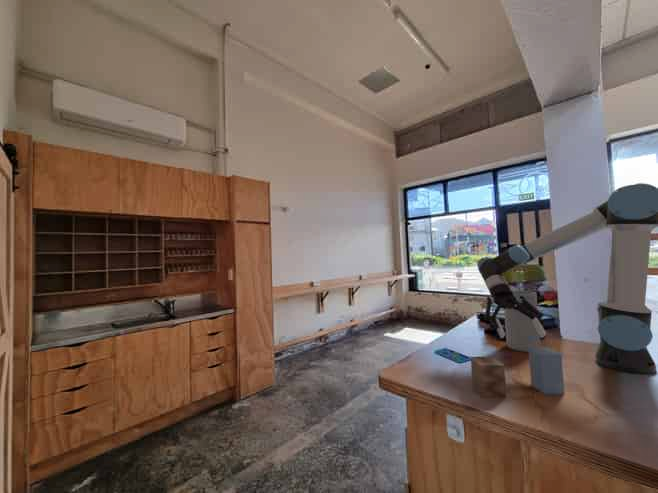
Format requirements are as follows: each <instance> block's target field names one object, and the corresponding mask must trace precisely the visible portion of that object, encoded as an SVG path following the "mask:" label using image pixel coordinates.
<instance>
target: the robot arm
mask: <svg viewBox="0 0 658 493" xmlns="http://www.w3.org/2000/svg"><path fill="white" fill-rule="evenodd" d="M656 228H658V187H656V186H654V185H652V184H649V183H644V182H643V183H642V182H636V183H635V182H634V183H630V184H626V185H623V186H620V187H618V188H617V189H615V190H614V191H613V192H612V193H611V194H610V195H609V198H607V200H606V201H605V202H603V203H601V204H600V205H598V206H595V207H594V208H593V209H592V212H590V213H587V214H585V215H582V216H581V217H579V218H577V219H574V220H573V221H571V222H568V223H566V224H565V225H562V226H560V227H558V228H556V229H554V230H552V231H550V232H547V233H545V234H543V235H541V236H539V237H537V238H534V240H531V241H528V242H526V243H525V244H522V245H520V244H515V245H514V246H511V247H509V248H507V249H506V250H505V251H503V252H502V253H500V254H498V255H497V256H495V257H492V256H485V257H482V258H480V259H478V261H477V262H476V266H477V270H478V271H479V274H480V275H481V277H482V279H483V281H484V284H485V286H486V288H487V290H488V291H489V295H490V296H491V297H490V296H486V299H485V303H486V307H485V312H484V320H485V321H489V323H491V324H492V327H493V328H494V329H496V331H497V332H498V336H499V337H500V339H504V337H506V331H505V330H504V328H503V326H502V324H501V322H500V320H499V318H497V315H498V314H499V312H500V310H501V309H503V310H504V309H512V308H513V309H514V310H518V311H519V312H521V313H523V314H524V315H526V316H527V317H529V318H531V319H532V323H533V325H534V326H535V328H536V330H537V332H538V333H539V335H540V338H544V337H545V336H546V335H547V332H546V331H545V329H544V324H543V322H542V320H541V319H542V318H543V317H544V314H543V313H542V312H541V311H540V310H539V309H538V310H537V309H536V308H535V307H534V306H532V305H531V304H530V303H529V302H527V301H526V300H525V298H524V297H523V296H520V297H518V298H516V297H514V296H513V293H512V291H513V290H512V289H511V287H510V286H509V283H508V282H507V280H506V278H505V276H504V274H505V273H507V272H509V271H510V270H512V269H515V268H517V267H519V266H524V265H526V264H528V263H530V262H532V261H534V260H536V259H538V258H540V257H543V256H545V255H548V254H550V253H553V252H555V251H557V250H559V249H561V248H563V247H566V246H569V245H571V244H574V243H576V242H578V241H580V240H583V239H585V238H587V237H590V236H591V235H594V234H596V233H598V232H601V231H603V230H605V229H609V230H611V232H612V233H611V244H610V246H611V247H610V255H609V256H610V257H609V258H610V259H609V272H608V284H607V293H606V300H604V301H602V302H599V303H598V304H597V309H596V310H597V315H598V325H597V331H598V334H599V337H600V338H599V339H600V341H599V345H598V347H597V349H596V352H595V355H594V356H595V361H596V363H597V364H599V365H601V366H603V367H606V368H609V369H612V370H616V371H618V372H619V371H620V372H625V373H631V374H640V375H650V374H651V375H653V374H655V373H656V372H657V365H656V363H655V360H654V359H653V357H652V355H651V353H650V351H649V350H648V346H649V345H650V344H651V342H652V340H653V335H654V334H653V332H652V330H651V323H652V315H653V314H652V311H653V310H652V309H650V307H647V306H646V297H647V286H648V284H647V283H648V275H649V274H648V273H649V260H650V251H651V250H650V248H651V238H652V231H653V230H654V229H656ZM517 301H518V302H517ZM492 304H495V305H496V308H495V310H494V312H493V313H492V315H491V310H492V309H491V308H492ZM515 304H516V305H517V306H515Z"/></svg>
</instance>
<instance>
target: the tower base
mask: <svg viewBox="0 0 658 493" xmlns="http://www.w3.org/2000/svg"><path fill="white" fill-rule="evenodd" d="M471 382H472V388H473V389H474V390H475V391H476V392H477V393H478V395H479V396H480V397H481V399H482V398H483V399H486V398H487V399H490V398H491V399H499V398H501V399H507V388H506V381H505V382H481V381H480V380H479V379H478V378H477V377H476V376H475V375H474V374H473V373H472V372H471Z"/></svg>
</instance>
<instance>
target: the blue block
mask: <svg viewBox="0 0 658 493" xmlns="http://www.w3.org/2000/svg"><path fill="white" fill-rule="evenodd" d="M528 360H529V371H530V373H529V374H530V385H531V386H532V387H534V388H535V389H536V390H538V391H539V392H541V393H542V394H543V395H548V394H549V395H554V394H555V395H565V383H564V381H565V380H564V373H563V372H564V370H563V369H564V368H563V358H562V354H561V353H559V352H557V351H555V350H553V349H552V348H549V347H541V348H529V352H528Z"/></svg>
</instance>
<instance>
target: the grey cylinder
mask: <svg viewBox="0 0 658 493" xmlns="http://www.w3.org/2000/svg"><path fill="white" fill-rule="evenodd" d="M511 291H512V293H513V296H514V297H516V298H518V297H520V296H523V297H524V298H525V300H526V301H527V302H529V303H530V304H531V305H532V306H534V307H535V308H536V309H537V310H539V309H538V297H537V295H538V293H537V292H534V291H531V290H529V291H528V290H511ZM517 302H518V301H517ZM515 306H517V305H516V304H515ZM503 312H504V313H503V314H504V325H505V334H506V335H505V339H506V340H505V341H506V346H507V347H508V348H509V349H511V350H514V351H519V352H524V353H529V348H542V347H541V339H540V338H541V337H540V335H539V333H538V332H537V330H536V328H535V326H534V325H533V323H532V319H531V318H529V317H527V316H526V315H524V314H523V313H521V312H519V311H518V310H514V309H513V308H512V309H503Z"/></svg>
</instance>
